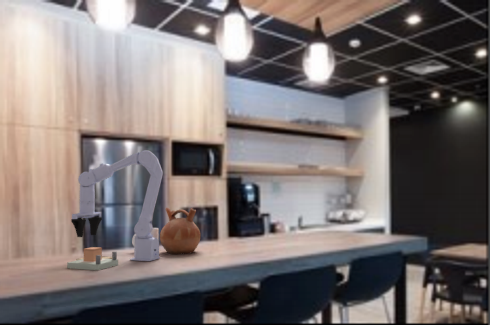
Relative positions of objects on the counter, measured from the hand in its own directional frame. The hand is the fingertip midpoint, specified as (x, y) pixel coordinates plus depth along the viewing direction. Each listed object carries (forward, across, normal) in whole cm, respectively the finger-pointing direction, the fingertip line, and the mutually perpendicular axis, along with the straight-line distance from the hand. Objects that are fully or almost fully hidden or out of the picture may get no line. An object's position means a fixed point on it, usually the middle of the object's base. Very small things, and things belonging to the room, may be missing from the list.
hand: (86, 236), depth 168 cm
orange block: (+8, +9, +11) cm, 16 cm away
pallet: (+10, -1, +4) cm, 11 cm away
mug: (+10, -29, +8) cm, 32 cm away
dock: (+10, +9, +11) cm, 17 cm away
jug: (+10, -31, +25) cm, 41 cm away
